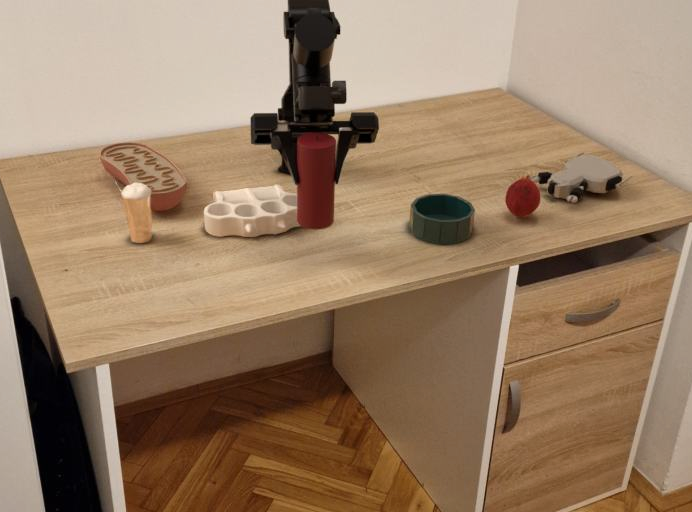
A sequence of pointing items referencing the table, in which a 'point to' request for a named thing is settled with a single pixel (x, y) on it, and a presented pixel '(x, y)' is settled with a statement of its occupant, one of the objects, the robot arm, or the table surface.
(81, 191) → the table surface
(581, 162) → the robot toy
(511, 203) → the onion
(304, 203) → the candle
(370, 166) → the table surface
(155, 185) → the mitochondrion model
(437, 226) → the shallow bowl
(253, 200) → the knuckle duster
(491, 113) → the table surface
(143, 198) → the milkshake
